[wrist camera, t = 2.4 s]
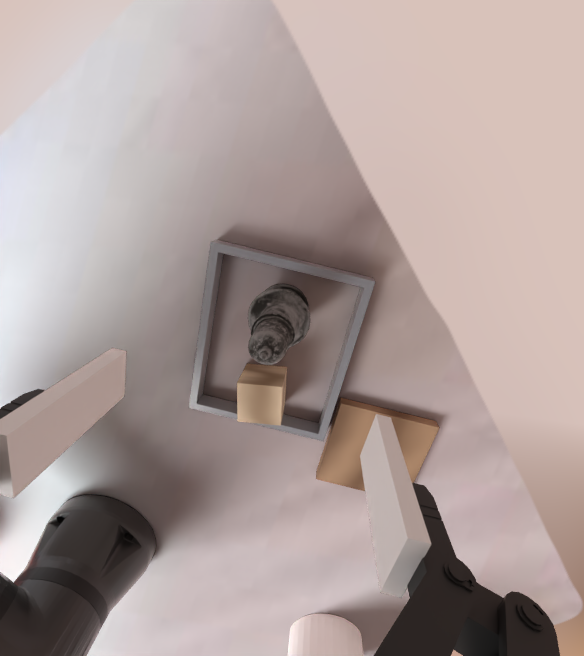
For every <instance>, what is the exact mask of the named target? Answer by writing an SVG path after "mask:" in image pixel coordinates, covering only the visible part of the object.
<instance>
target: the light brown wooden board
mask: <svg viewBox="0 0 584 656" xmlns="http://www.w3.org/2000/svg"><path fill="white" fill-rule="evenodd" d="M376 414H379V415H383V416H387V417H391V420H392V423H393V426H394V429H395V432H396V435H397V438H398V442H399V445H400V448H401V451H402V454H403V457H404V460H405V463H406V466H407V470H408V473H409V476H410V479H411V482H412V483H414V481H415V479H416V476H417V474H418V472H419V470H420V468H421V466H422V464H423V462H424V459H425V457H426V455H427V453H428V451H429V449H430V447H431V445H432V443H433V440H434V438H435V436H436V434H437V432H438V430H439V426H438V424H437V422H436V421H433V420H429V419H425V418H421V417H417V416H413V415H409V414H405V413H401V412H397V411H393V410H389V409H385V408H381V407H377V406H373V405H369V404H365V403H361V402H357V401H353V400H349V399H345V398H340V401H339V404H338V407H337V410H336V413H335V416H334V419H333V422H332V425H331V428H330V431H329V434H328V437H327V441H326V444H325V447H324V450H323V453H322V456H321V459H320V462H319V465H318V468H317V471H316V479H318V480H322V481H326V482H330V483H334V484H338V485H342V486H346V487H350V488H354V489H358V490H362V491H365V487H364V480H363V473H362V466H361V459H360V454H361V452H362V449H363V447H364V444H365V441H366V439H367V436H368V434H369V431H370V428H371V426H372V423H373V421H374V418H375V415H376Z"/></svg>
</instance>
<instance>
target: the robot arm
mask: <svg viewBox="0 0 584 656" xmlns="http://www.w3.org/2000/svg"><path fill="white" fill-rule="evenodd" d="M126 354H127V351H123V350H119V349H115V348H111V349H109V350H108V351H106V352H105V353H103V354H102V355H100V356H99V357H97V358H95V359H94V360H92V361H91V362H89V363H88V364H86V365H84V366H83V367H81V368H80V369H78V370H77V371H75V372H73V373H72V374H70V375H69V376H67V377H66V378H64V379H62V380H61V381H59V382H58V383H56V384H55V385H53V386H52V387H50V388H48V389H47V390H41V389H37V390H34V391H31V392H28V393H26V394H23V395H21V396H20V397H18V398H16V399H15V400H13V401H11V403H8V404H6V405H5V406H3V407H1V409H0V495H2V496H6V497H10V498H15V497H16V496H17V495H18V494H19V493H20V492H21V491H22V490H23V489H24V488H26V487H27V486H28V485H29V484H30V483H31V482H32V481H33V480H34V479H35V478H36V477H37V476H39V475H40V474H41V473H42V472H43V471H44V470H45V469H46V468H47V467H48V466H49V465H50V464H52V463H53V462H54V461H55V460H56V459H57V458H58V457H59V456H60V455H61V454H62V453H64V452H65V451H66V450H67V449H68V448H69V447H70V446H71V445H72V444H73V443H74V442H75V441H77V440H78V439H79V438H80V437H81V436H82V435H83V434H84V433H85V432H86V431H87V430H88V429H90V428H91V427H92V426H93V425H94V424H95V423H96V422H97V421H98V420H99V419H100V418H102V417H103V416H104V415H105V414H106V413H107V412H108V411H109V410H110V409H111V408H112V407H113V406H115V405H116V404H117V403H118V402H119V401H120V400H121V399H122V398H123V397H124V396H125V376H126ZM360 459H361V466H362V473H363V480H364V487H365V494H366V500H367V507H368V514H369V521H370V528H371V535H372V542H373V549H374V556H375V562H376V569H377V576H378V583H379V590H380V593H383V594H387V595H391V596H395V597H399V598H402V596H403V595H404V593H405V591H406V589H407V587H408V591H409V596H410V599H409V601H408V602H407V604H406V606H405V607H404V609H403V610H402V612H401V613H400V615H399V617H398V618H397V620H396V621H395V623H394V625H393V626H392V628H391V629H390V631H389V632H388V634H387V636H386V637H385V639H384V640H383V642H382V643H381V645H380V647H379V648H378V650H377V651H376V653H375V655H374V656H451V654H452V651H453V649H454V650H456V651H457V652H458V653H460V654H462V655H463V656H560V653H559V647H558V641H557V636H556V632H555V629H554V626H553V624H552V622H551V620H550V619H549V617H548V616H547V614H546V613H545V612H544V611H543V610H542V609H541V608H540V606H539V605H538V604H537V603H535V602H534V601H533V600H531V599H530V598H529V597H527V596H525V595H523V594H521V593H519V592H510V593H508V594H507V595H506V596H505V597H504V598H502V597H501V596H499V595H497V594H495V593H493V592H492V591H490V590H488V589H486V588H485V587H483V586H481V585H480V584H478V583H477V582H476V579H475V577H474V576H473V574H472V572H471V571H470V569H469V568H468V567H467V566H466V565H465V564H464V563H463V562H462V561H460V560H459V559H457V558H456V555H455V552H454V550H453V547H452V545H451V542H450V539H449V537H448V534H447V532H446V529H445V526H444V524H443V521H441V519H442V518H441V516H440V513H439V511H438V508H437V505H436V503H435V500H434V497H433V496H432V495H431V493H430V492H429V491H428V489H427V488H426V487H425V486H423V485H419V484H415V483H412V482H411V479H410V476H409V473H408V470H407V466H406V463H405V460H404V457H403V454H402V451H401V448H400V445H399V442H398V438H397V435H396V432H395V429H394V426H393V423H392V420H391V417H387V416H383V415H379V414H376V415H375V418H374V421H373V423H372V426H371V428H370V431H369V434H368V436H367V439H366V441H365V444H364V447H363V449H362V452H361V454H360ZM155 549H156V540H155V536H154V533H153V531H152V529H151V527H150V525H149V524H148V523H147V521H146V520H145V519H144V518H143V517H142V516H141V515H140V514H139V513H138V512H136V511H135V510H134V509H132V508H131V507H129V506H128V505H126V504H124V503H122V502H120V501H117V500H115V499H112V498H109V497H104V496H99V495H83V496H78V497H74V498H72V499H70V500H68V501H67V502H65V503H64V504H63V505H62V506H61V507H60V508H59V509H58V511H57V512H56V513H55V514H54V515H53V516H52V517H51V519H50V520H49V522H48V523H47V525H46V527H45V529H44V531H43V533H42V535H41V537H40V539H39V542H38V544H37V546H36V548H35V550H34V552H33V554H32V556H31V558H30V560H29V562H28V564H27V566H26V568H25V569H24V571H23V572H22V573H21V574H20V576H19V577H18V578H17V579H16V580H15V582H14V583H13V582H12V581H11V580H10V579H8V578H7V577H6V576H4V575H3V574H2V573H1V572H0V656H87V654H88V652H89V650H90V648H91V646H92V644H93V642H94V640H95V639H96V637H97V635H98V633H99V631H100V629H101V627H102V625H103V623H104V621H105V620H106V618H107V616H108V614H109V612H110V611H111V610H112V609H113V607H114V606H115V605H116V604H117V603H118V602H119V601H120V600H121V598H122V597H123V596H124V595H125V594H126V593H127V592H128V591H129V589H130V588H131V587H132V586H133V585H134V584H135V583H136V581H137V580H138V579H139V578H140V577H141V576H142V575H143V573H144V572H145V570H146V569H147V567H148V565H149V563H150V561H151V559H152V557H153V555H154V553H155Z"/></svg>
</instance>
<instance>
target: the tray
mask: <svg viewBox="0 0 584 656" xmlns="http://www.w3.org/2000/svg"><path fill="white" fill-rule="evenodd" d="M223 254H228V255H232V256H236V257H240V258H244V259H248V260H252V261H256V262H260V263H265V264H269V265H273V266H277V267H281V268H285V269H289V270H293V271H297V272H301V273H305V274H310V275H314V276H318V277H322V278H326V279H330V280H334V281H338V282H342V283H346V284H350V285H355V286H359V287H361V288H360V291H359V294H358V298H357V301H356V304H355V307H354V311H353V314H352V317H351V320H350V323H349V327H348V330H347V333H346V336H345V340H344V343H343V346H342V349H341V353H340V356H339V359H338V362H337V366H336V369H335V372H334V375H333V378H332V382H331V385H330V388H329V391H328V395H327V398H326V401H325V404H324V408H323V411H322V414H321V417H320V421H319V423H316V422H312V421H308V420H304V419H300V418H296V417H292V416H288V415H284V414H283V416H282V421H281V426H280V425H269V424H259V423H251V424H255V425H259V426H263V427H267V428H271V429H275V430H279V431H283V432H287V433H291V434H295V435H299V436H303V437H307V438H311V439H316V440H320V441H324V439H325V436H326V433H327V430H328V427H329V424H330V420H331V417H332V414H333V411H334V408H335V405H336V402H337V399H338V396H339V393H340V390H341V386H342V383H343V380H344V377H345V374H346V371H347V368H348V365H349V362H350V359H351V356H352V352H353V349H354V346H355V343H356V340H357V337H358V334H359V331H360V328H361V325H362V322H363V318H364V315H365V312H366V309H367V306H368V303H369V300H370V297H371V294H372V291H373V288H374V284H375V280H374V279H373V278H372V277H368V276H364V275H360V274H356V273H351V272H347V271H343V270H339V269H335V268H331V267H327V266H323V265H319V264H315V263H311V262H306V261H302V260H298V259H294V258H290V257H286V256H282V255H278V254H274V253H270V252H265V251H261V250H257V249H253V248H249V247H245V246H241V245H237V244H233V243H229V242H224V241H220V240H215V241H211V244H210V251H209V259H208V266H207V274H206V281H205V289H204V296H203V304H202V311H201V319H200V326H199V334H198V341H197V349H196V356H195V364H194V371H193V379H192V386H191V394H190V401H189V408H191V409H195V410H199V411H203V412H207V413H211V414H215V415H219V416H223V417H227V418H231V419H235V420H237V403H236V402H232V401H228V400H224V399H220V398H216V397H212V396H208V395H204V394H203V389H204V382H205V375H206V368H207V362H208V355H209V348H210V342H211V335H212V328H213V321H214V315H215V308H216V301H217V295H218V288H219V281H220V274H221V268H222V261H223ZM247 423H249V422H247Z"/></svg>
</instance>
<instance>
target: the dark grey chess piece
mask: <svg viewBox="0 0 584 656" xmlns="http://www.w3.org/2000/svg"><path fill="white" fill-rule="evenodd" d="M248 322H249V327H250V329H251V338H250V340H249V346H248V348H249V353H250V355H251V357H252V358H253V359H254V360H255V361H257V362H258V363H260V364H263V365H273V364H276V363H278V362H279V361H281V359H282V358H283V357H284V356H285V354H286V351H287V350H288V349H289V348H290V347H291V346H294V345H296V344H297V343H299V342H300V341H301V340H302V339H303V338H304V337H305V336H306V334H307V332H308V330H309V326H310V313H309V307H308V302H307V299H306V297H305V296H304V294H303V293H302V292H301V291H300V290H299V289H297V288H296V287H294V286H291V285H287V284H277V285H274V286H271V287H270V288H268V289H267V290H265V292H263V293H261V294H260V295H258V296H257V297H256V298H255V300H254V301H253V302H252V304H251V306H250V308H249V312H248Z"/></svg>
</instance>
